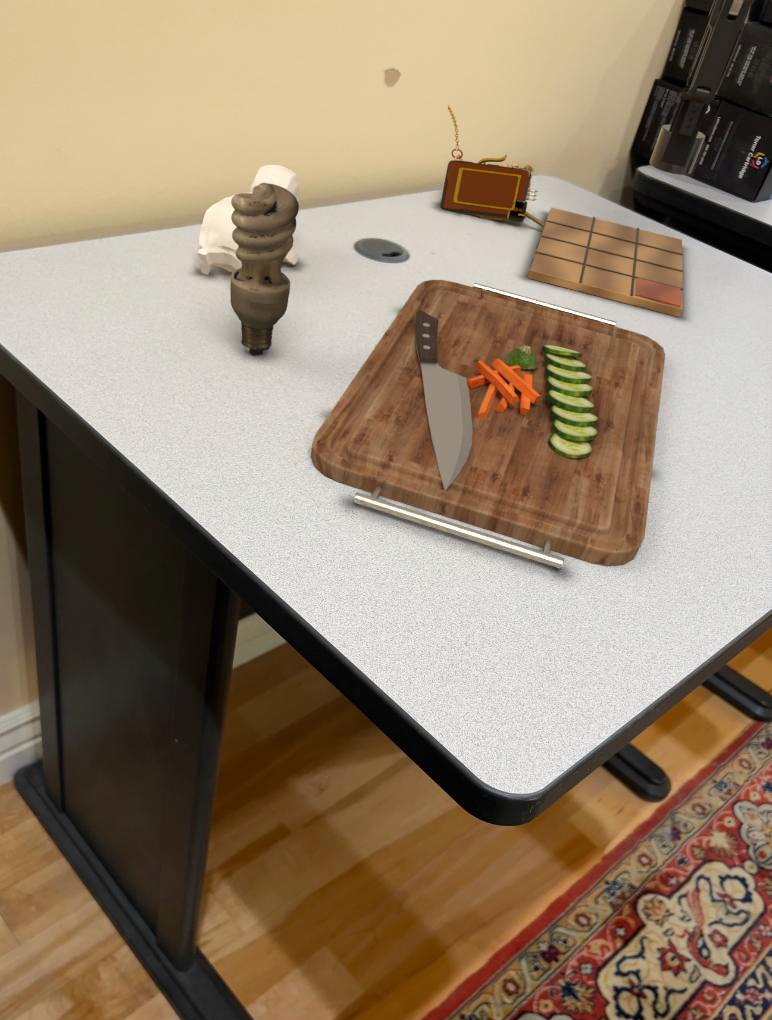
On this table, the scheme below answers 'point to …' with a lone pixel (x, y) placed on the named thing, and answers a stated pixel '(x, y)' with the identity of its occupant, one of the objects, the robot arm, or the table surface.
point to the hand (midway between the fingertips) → (673, 156)
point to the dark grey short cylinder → (661, 147)
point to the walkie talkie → (487, 188)
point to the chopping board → (504, 423)
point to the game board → (610, 261)
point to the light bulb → (261, 261)
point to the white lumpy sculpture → (219, 226)
